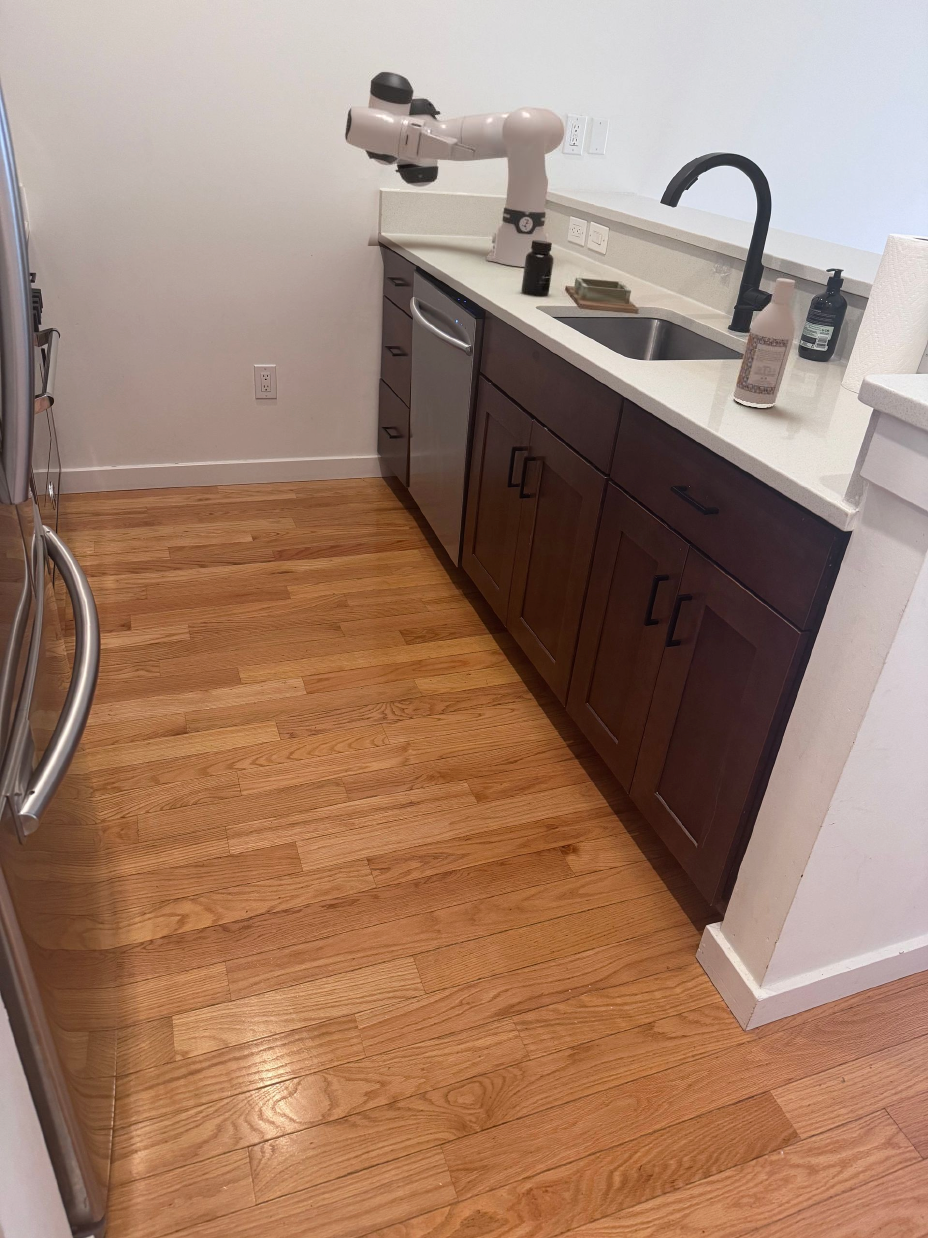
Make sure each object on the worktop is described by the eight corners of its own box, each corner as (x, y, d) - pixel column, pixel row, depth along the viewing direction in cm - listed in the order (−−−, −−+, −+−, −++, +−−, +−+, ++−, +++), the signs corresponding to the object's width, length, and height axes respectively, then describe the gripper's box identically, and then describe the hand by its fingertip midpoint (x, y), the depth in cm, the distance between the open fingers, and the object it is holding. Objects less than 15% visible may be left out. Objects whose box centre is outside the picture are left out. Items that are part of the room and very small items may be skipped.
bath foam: (742, 394, 154) (774, 273, 143) (780, 404, 150) (815, 282, 140) (725, 401, 149) (756, 277, 139) (763, 412, 145) (798, 285, 135)
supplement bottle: (546, 298, 212) (554, 244, 206) (519, 294, 213) (525, 241, 207) (550, 293, 218) (557, 241, 212) (523, 289, 219) (529, 237, 213)
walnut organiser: (564, 289, 224) (567, 273, 222) (618, 294, 226) (621, 278, 224) (579, 308, 206) (582, 290, 204) (638, 313, 207) (641, 295, 205)
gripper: (417, 152, 212) (473, 166, 212) (407, 157, 194) (468, 172, 195) (422, 123, 208) (478, 137, 209) (412, 125, 191) (474, 140, 191)
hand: (473, 153), depth 202 cm, fingers open, 8 cm apart
